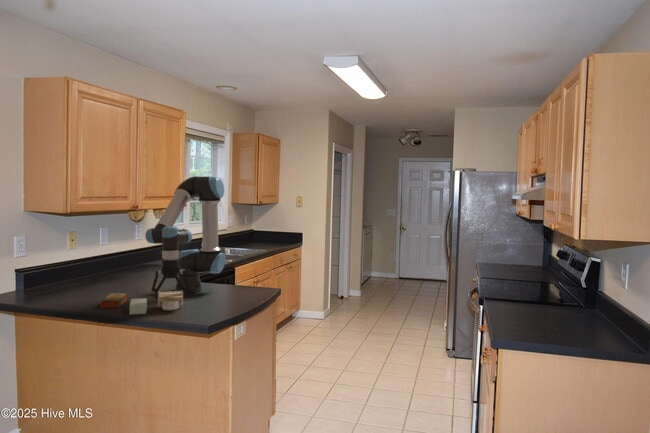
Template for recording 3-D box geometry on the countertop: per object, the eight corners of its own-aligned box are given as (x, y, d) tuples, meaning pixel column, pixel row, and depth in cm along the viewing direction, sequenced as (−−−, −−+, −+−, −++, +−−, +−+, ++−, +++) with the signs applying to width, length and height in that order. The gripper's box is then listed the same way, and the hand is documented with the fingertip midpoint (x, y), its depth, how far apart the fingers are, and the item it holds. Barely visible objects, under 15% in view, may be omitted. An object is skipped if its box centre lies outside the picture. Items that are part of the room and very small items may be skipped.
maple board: (159, 295, 244) (159, 291, 244) (180, 294, 247) (180, 290, 247) (159, 302, 229) (159, 298, 229) (182, 300, 233) (182, 297, 233)
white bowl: (162, 307, 241) (162, 296, 241) (178, 306, 243) (178, 296, 243) (162, 310, 234) (162, 300, 233) (179, 309, 236) (179, 299, 236)
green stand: (131, 307, 240) (131, 298, 240) (146, 306, 242) (146, 298, 242) (129, 314, 226) (129, 305, 225) (145, 313, 228) (145, 305, 228)
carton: (126, 301, 254) (126, 292, 254) (118, 308, 238) (118, 299, 238) (109, 301, 253) (109, 293, 253) (100, 308, 237) (100, 299, 237)
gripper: (145, 260, 230) (145, 308, 231) (195, 259, 237) (195, 305, 238) (145, 258, 237) (145, 304, 238) (194, 257, 244) (194, 301, 245)
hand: (170, 304), depth 238 cm, fingers closed on maple board, 10 cm apart
